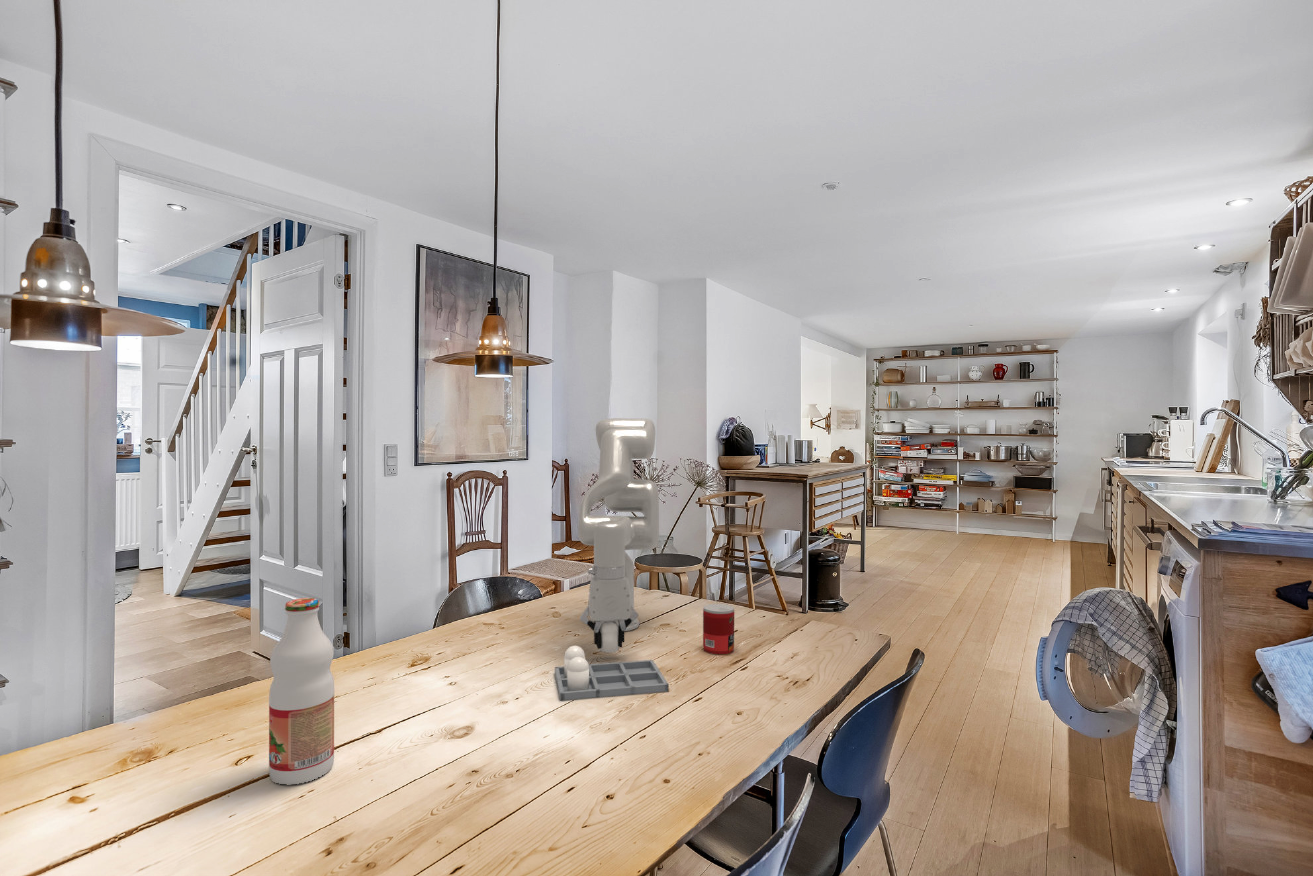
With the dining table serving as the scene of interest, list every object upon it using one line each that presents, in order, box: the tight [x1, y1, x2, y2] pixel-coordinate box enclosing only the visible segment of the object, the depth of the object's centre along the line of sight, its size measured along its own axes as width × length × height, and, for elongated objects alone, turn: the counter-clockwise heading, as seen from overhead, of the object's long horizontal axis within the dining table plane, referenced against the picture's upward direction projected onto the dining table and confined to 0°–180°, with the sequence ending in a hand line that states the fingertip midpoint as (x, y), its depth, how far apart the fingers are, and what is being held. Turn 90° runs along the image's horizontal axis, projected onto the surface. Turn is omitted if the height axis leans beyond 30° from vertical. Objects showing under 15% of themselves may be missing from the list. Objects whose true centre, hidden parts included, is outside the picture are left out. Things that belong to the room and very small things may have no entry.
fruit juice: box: [268, 597, 335, 786], centre depth 107 cm, size 9×9×28 cm
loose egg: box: [599, 621, 620, 654], centre depth 160 cm, size 5×5×7 cm
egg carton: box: [554, 659, 670, 702], centre depth 145 cm, size 16×23×2 cm
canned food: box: [702, 603, 735, 655], centre depth 168 cm, size 8×8×11 cm
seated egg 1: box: [563, 645, 586, 678], centre depth 147 cm, size 5×5×7 cm
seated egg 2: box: [567, 657, 590, 691], centre depth 140 cm, size 5×5×7 cm
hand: (609, 645), depth 160 cm, fingers closed on loose egg, 4 cm apart
